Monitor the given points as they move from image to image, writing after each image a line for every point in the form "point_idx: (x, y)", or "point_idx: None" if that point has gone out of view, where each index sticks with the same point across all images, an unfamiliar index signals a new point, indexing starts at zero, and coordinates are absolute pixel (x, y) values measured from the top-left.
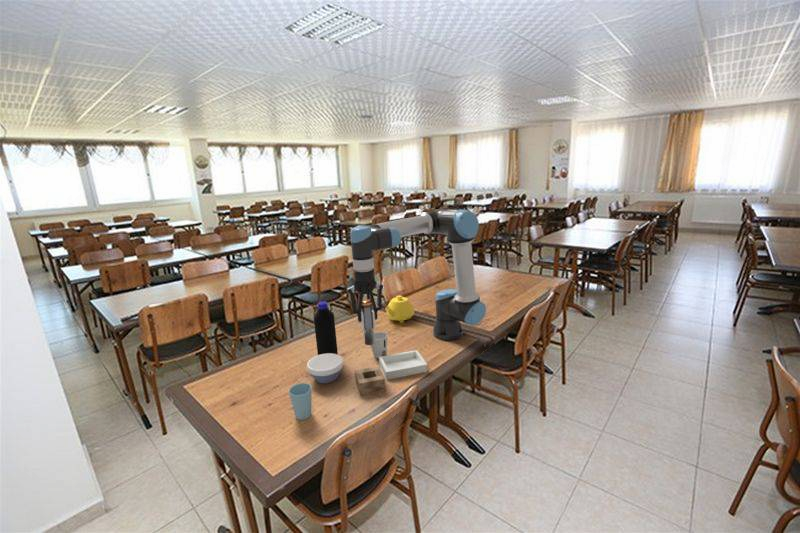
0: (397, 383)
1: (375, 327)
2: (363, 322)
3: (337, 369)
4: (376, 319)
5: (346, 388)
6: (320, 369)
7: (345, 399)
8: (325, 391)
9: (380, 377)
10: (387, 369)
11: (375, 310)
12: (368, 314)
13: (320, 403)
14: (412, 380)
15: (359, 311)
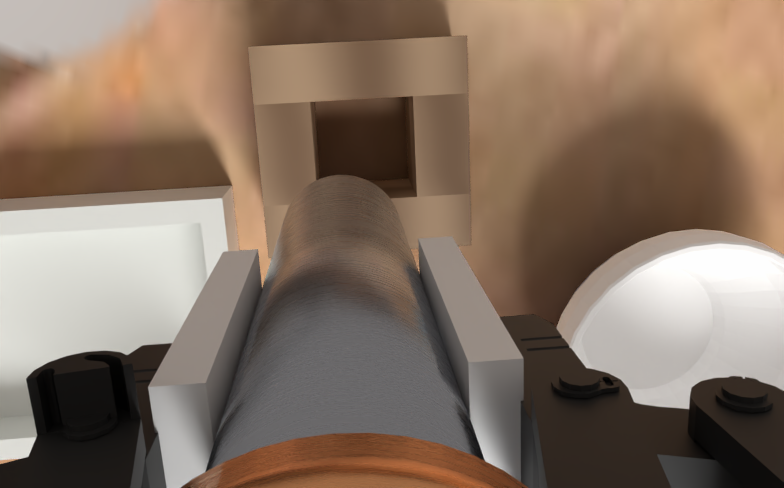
0: (157, 111)
1: (220, 256)
2: (447, 284)
3: (610, 267)
4: (156, 344)
5: (530, 154)
6: (688, 400)
7: (556, 16)
8: (673, 158)
9: (280, 77)
10: (206, 234)
11: (91, 420)
12: (327, 335)
13: (725, 20)
14: (36, 118)
15: (597, 411)
